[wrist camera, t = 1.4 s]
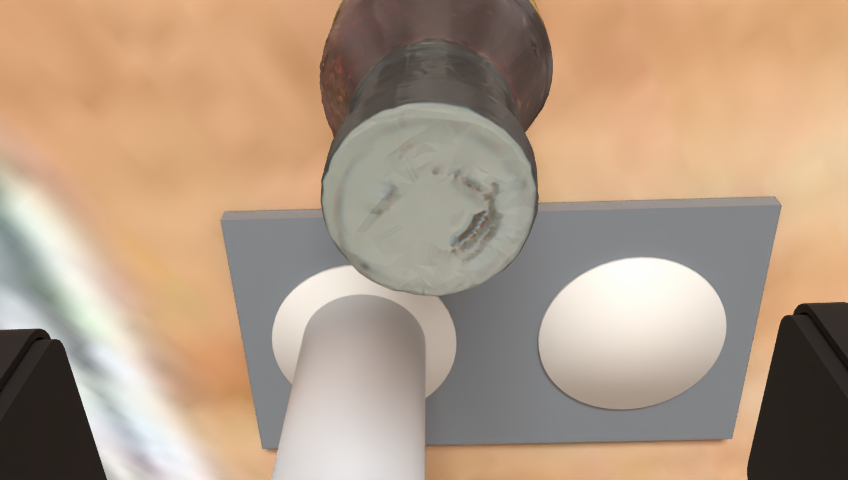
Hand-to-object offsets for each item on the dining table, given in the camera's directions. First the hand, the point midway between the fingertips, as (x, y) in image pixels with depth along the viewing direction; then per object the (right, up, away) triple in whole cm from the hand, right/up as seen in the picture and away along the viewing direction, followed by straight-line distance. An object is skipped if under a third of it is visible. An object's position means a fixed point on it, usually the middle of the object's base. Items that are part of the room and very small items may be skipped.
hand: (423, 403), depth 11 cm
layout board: (+4, -2, +30) cm, 30 cm away
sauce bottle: (+1, +12, +21) cm, 25 cm away
